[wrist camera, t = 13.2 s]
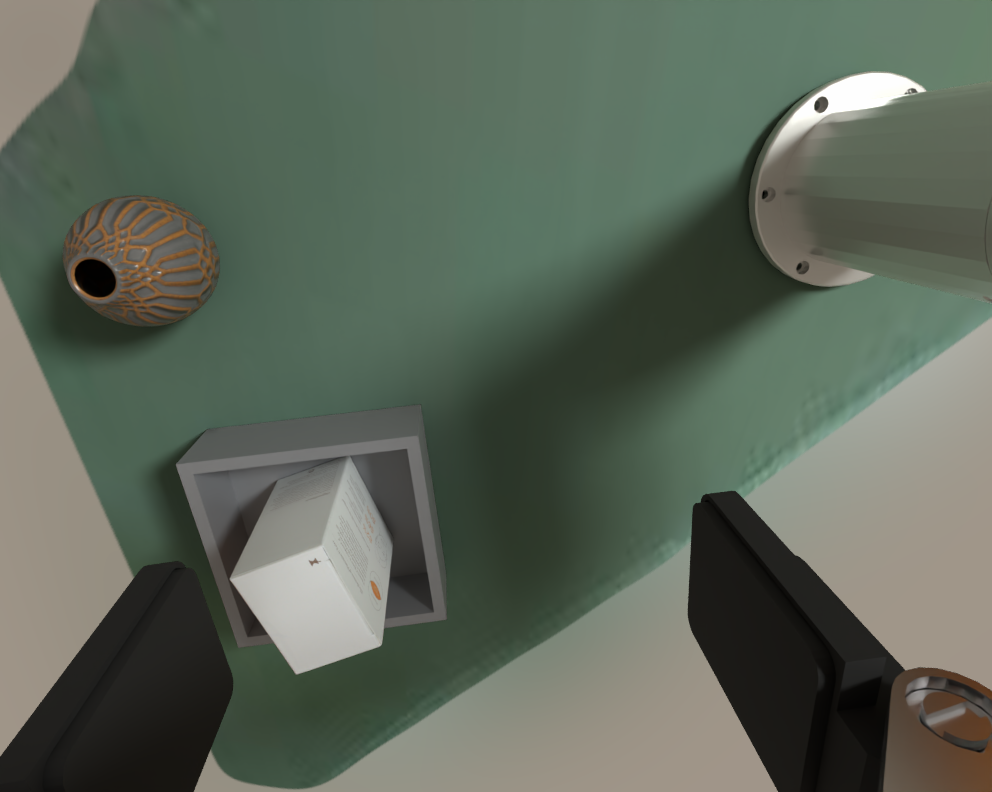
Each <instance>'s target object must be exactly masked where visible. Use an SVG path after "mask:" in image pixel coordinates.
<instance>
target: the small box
mask: <svg viewBox="0 0 992 792" xmlns="http://www.w3.org/2000/svg"><path fill="white" fill-rule="evenodd" d="M393 541H394V539H393V537H392V535H391V533H390V531H389V530H388V528H387V526H386V524H385V522H384V520H383V518H382V516H381V514H380V512H379V511H378V509H377V507H376V505H375V503H374V501H373V499H372V497H371V495H370V494H369V492H368V490H367V488H366V486H365V484H364V482H363V480H362V478H361V477H360V475H359V473H358V471H357V469H356V467H355V465H354V463H353V461H352V459H351V457H350V456H344V457H341V458H338V459H335V460H333V461H330V462H327V463H324V464H321V465H319V466H316V467H313V468H310V469H308V470H305V471H302V472H299V473H297V474H294V475H291V476H288V477H285V478H283V479H280V480H278V481H277V482H276V485H275V487H274V489H273V491H272V493H271V495H270V497H269V499H268V501H267V503H266V505H265V507H264V509H263V511H262V513H261V515H260V517H259V519H258V521H257V523H256V525H255V527H254V530H253V532H252V534H251V536H250V538H249V540H248V542H247V544H246V546H245V548H244V550H243V552H242V554H241V556H240V558H239V560H238V563H237V564H236V566H235V569H234V571H233V573H232V575H231V577H230V581H231V582H232V584H233V585H234V586H235V588H236V589H237V591H238V592H239V594H240V595H241V596H242V598H243V599H244V601H245V602H246V604H247V605H248V606H249V608H250V609H251V611H252V612H253V613H254V615H255V616H256V618H257V619H258V621H259V622H260V623H261V625H262V626H263V628H264V629H265V631H266V632H267V634H268V635H269V636H270V638H271V639H272V641H273V642H274V643H275V645H276V646H277V648H278V649H279V651H280V652H281V654H282V655H283V656H284V658H285V659H286V661H287V662H288V664H289V665H290V667H291V668H292V670H293V671H294V673H295V674H300V673H303V672H306V671H309V670H312V669H315V668H318V667H321V666H324V665H327V664H330V663H333V662H336V661H339V660H342V659H345V658H348V657H350V656H353V655H356V654H359V653H362V652H365V651H368V650H371V649H374V648H377V647H380V646H381V645H382V640H383V631H384V622H385V613H386V604H387V595H388V586H389V577H390V567H391V559H392V549H393Z"/></svg>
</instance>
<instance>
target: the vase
mask: <svg viewBox="0 0 992 792" xmlns="http://www.w3.org/2000/svg"><path fill="white" fill-rule="evenodd" d="M63 264H64V269H65V273H66V276H67V279H68V282H69V284H70V286H71V288H72V289H73V290H74V292H75V293H76V294H77V295H78V296H79V297H80V298H81V299H82V300H83V301H84V302H85V303H86V304H87V305H88V306H89V307H91V308H92V309H93V310H95V311H96V312H98V313H99V314H101V315H103V316H105V317H107V318H109V319H111V320H114V321H117V322H120V323H123V324H128V325H134V326H161V325H166V324H170V323H174V322H177V321H179V320H182V319H184V318H186V317H188V316H189V315H191V314H192V313H194V312H195V311H197V310H198V309H199V308H200V307H201V306H203V305H204V304H205V303H206V302H207V300H208V299H209V298H210V296H211V295H212V293H213V291H214V289H215V287H216V284H217V282H218V278H219V271H220V260H219V254H218V250H217V247H216V244H215V242H214V240H213V238H212V236H211V234H210V233H209V231H208V230H207V229H206V227H205V226H204V225H203V224H202V223H201V222H200V221H199V220H198V219H197V218H196V217H195V216H194V215H192V214H191V213H190V212H188V211H187V210H185V209H184V208H182V207H180V206H178V205H176V204H174V203H172V202H169V201H167V200H164V199H160V198H156V197H151V196H141V195H130V196H121V197H115V198H111V199H108V200H105V201H102V202H100V203H98V204H96V205H94V206H92V207H91V208H89V209H88V210H87V211H85V212H84V213H83V214H82V215H81V216H80V217H79V218H78V219H77V220H76V221H75V222H74V224H73V225H72V226H71V228H70V230H69V231H68V234H67V236H66V239H65V242H64V247H63Z"/></svg>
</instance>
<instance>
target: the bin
mask: <svg viewBox="0 0 992 792" xmlns="http://www.w3.org/2000/svg"><path fill="white" fill-rule="evenodd" d="M344 456H350V457H351V459H352V461H353V463H354V465H355V467H356V469H357V471H358V473H359V475H360V477H361V478H362V480H363V482H364V484H365V486H366V488H367V490H368V492H369V494H370V495H371V497H372V499H373V501H374V503H375V505H376V507H377V509H378V511H379V512H380V514H381V516H382V518H383V520H384V522H385V524H386V526H387V528H388V530H389V531H390V533H391V535H392V537H393V539H394V541H393V549H392V559H391V567H390V577H389V586H388V595H387V604H386V613H385V622H384V628H389V627H396V626H403V625H411V624H418V623H426V622H433V621H440V620H447V587H446V568H445V561H444V555H443V548H442V541H441V535H440V528H439V522H438V515H437V508H436V502H435V495H434V489H433V482H432V475H431V469H430V462H429V455H428V449H427V442H426V436H425V429H424V422H423V416H422V409H421V404H420V405H411V406H403V407H394V408H385V409H377V410H368V411H360V412H351V413H342V414H334V415H325V416H317V417H308V418H300V419H291V420H282V421H274V422H265V423H257V424H248V425H239V426H231V427H222V428H214V429H207V430H206V431H205V432H204V433H203V435H202V436H201V437H200V438H199V439H198V440H197V441H196V442H195V443H194V445H193V446H192V447H191V448H190V449H189V450H188V451H187V452H186V454H185V455H184V456H183V457H182V458H181V459H180V460H179V461H178V462H177V464H176V467H177V470H178V473H179V476H180V479H181V481H182V484H183V487H184V490H185V493H186V496H187V499H188V502H189V505H190V508H191V511H192V514H193V516H194V519H195V522H196V525H197V528H198V531H199V534H200V537H201V540H202V543H203V546H204V549H205V551H206V554H207V557H208V560H209V563H210V566H211V569H212V572H213V575H214V578H215V581H216V584H217V586H218V589H219V592H220V595H221V598H222V601H223V604H224V607H225V610H226V613H227V616H228V618H229V621H230V624H231V627H232V630H233V633H234V636H235V639H236V642H237V645H238V648H241V647H248V646H255V645H263V644H270V643H274V642H273V641H272V639H271V638H270V636H269V635H268V634H267V632H266V631H265V629H264V628H263V626H262V625H261V623H260V622H259V621H258V619H257V618H256V616H255V615H254V613H253V612H252V611H251V609H250V608H249V606H248V605H247V604H246V602H245V601H244V599H243V598H242V596H241V595H240V594H239V592H238V591H237V589H236V588H235V586H234V585H233V584H232V582H231V581H230V577H231V575H232V573H233V571H234V569H235V566H236V564H237V563H238V560H239V558H240V556H241V554H242V552H243V550H244V548H245V546H246V544H247V542H248V540H249V538H250V536H251V534H252V532H253V530H254V527H255V525H256V523H257V521H258V519H259V517H260V515H261V513H262V511H263V509H264V507H265V505H266V503H267V501H268V499H269V497H270V495H271V493H272V491H273V489H274V487H275V485H276V482H277V481H278V480H280V479H283V478H285V477H288V476H291V475H294V474H297V473H299V472H302V471H305V470H308V469H310V468H313V467H316V466H319V465H321V464H324V463H327V462H330V461H333V460H335V459H338V458H341V457H344Z"/></svg>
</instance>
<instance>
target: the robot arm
mask: <svg viewBox="0 0 992 792" xmlns="http://www.w3.org/2000/svg"><path fill="white" fill-rule="evenodd" d="M814 104H815V109H814ZM763 191H764V193H765V194H764V196H763V197H762V193H763ZM749 215H750V222H751V226H752V230H753V234H754V238H755V240H756V242H757V244H758V246H759V248H760V250H761V252H762V253H763V254H764V256H765V257H766V258H767V259H768V261H769V262H770V263H771V264H772V265H773V266H774V267H775V268H777V269H778V270H779V271H781V272H782V273H783V274H785V275H787V276H789V277H791V278H793V279H796V280H798V281H801V282H804V283H808V284H811V285H816V286H827V287H834V286H843V285H849V284H853V283H856V282H859V281H863V280H866V279H868V278H870V277H872V276H874V275H879V276H883V277H887V278H891V279H895V280H899V281H903V282H907V283H911V284H915V285H919V286H923V287H928V288H932V289H936V290H940V291H944V292H948V293H952V294H956V295H960V296H964V297H968V298H972V299H976V300H980V301H984V302H988V303H992V81H989V82H983V83H977V84H970V85H964V86H958V87H951V88H945V89H938V90H932V91H927V90H926V89H925V88H924V87H923V86H922V85H920V84H918V83H916V82H915V81H913V80H911V79H909V78H908V77H906V76H902V75H898V74H895V73H891V72H876V71H868V72H863V73H857V74H852V75H848V76H845V77H842V78H838V79H835V80H832V81H829V82H828V83H826V84H824V85H822V86H820V87H818V88H816V89H814V90H813V91H811V92H810V93H808V94H807V95H806V96H805V97H803V98H802V99H801V100H799V101H798V102H797V103H796V104H794V105H793V106H792V107H791V109H790V110H789V111H788V112H787V113H786V114H785V115H784V116H783V117H782V118H781V119H780V120H779V122H778V123H777V125H776V126H775V128H774V129H773V131H772V132H771V133H770V135H769V136H768V138H767V139H766V141H765V144H764V146H763V148H762V150H761V152H760V154H759V156H758V158H757V161H756V165H755V168H754V172H753V175H752V178H751V184H750V193H749ZM797 265H798V266H797ZM688 598H689V599H688V619H689V624H690V627H691V630H692V633H693V635H694V637H695V638H696V640H697V642H698V644H699V646H700V648H701V650H702V651H703V653H704V655H705V657H706V659H707V660H708V663H709V664H710V666H711V668H712V670H713V671H714V674H715V675H716V677H717V679H718V681H719V683H720V685H721V687H722V688H723V690H724V692H725V694H726V696H727V698H728V699H729V701H730V703H731V705H732V707H733V709H734V711H735V713H736V714H737V716H738V718H739V720H740V722H741V724H742V726H743V727H744V729H745V731H746V733H747V735H748V737H749V738H750V740H751V742H752V744H753V746H754V748H755V749H756V752H757V753H758V755H759V757H760V759H761V761H762V763H763V765H764V766H765V768H766V770H767V772H768V774H769V776H770V777H771V779H772V781H773V783H774V785H775V787H776V788H777V790H778V792H992V691H991V690H990V689H988V688H987V687H985V686H983V685H982V684H980V683H978V682H976V681H974V680H972V679H970V678H967V677H965V676H963V675H960V674H958V673H954V672H951V671H946V670H943V669H938V668H925V667H924V668H923V667H918V668H914V669H909V670H904V669H903V667H902V666H901V665H900V664H899V663H898V662H897V661H896V660H895V659H894V658H893V656H892V655H891V654H890V653H889V652H888V651H887V650H886V649H885V648H884V647H883V646H882V644H881V643H880V642H879V641H878V640H877V639H876V638H875V637H874V636H873V635H872V634H871V633H870V632H869V631H868V629H867V628H866V627H865V626H864V625H863V624H862V623H861V622H860V621H859V620H858V619H857V617H855V615H854V614H853V613H852V612H851V611H850V610H849V609H848V608H847V607H846V606H845V604H844V603H843V602H842V601H841V600H840V599H839V598H838V597H837V596H836V595H835V594H834V593H833V592H832V590H831V589H830V588H829V587H828V586H827V585H826V584H825V583H824V582H823V581H822V580H821V578H820V577H819V576H818V575H817V574H816V573H815V572H814V571H813V570H812V569H811V568H810V567H809V565H808V564H807V563H806V562H805V561H803V560H802V559H801V558H800V557H798V556H795V555H794V554H793V553H792V552H791V551H790V550H789V549H788V548H787V546H786V545H785V544H784V543H783V542H782V541H781V540H780V539H779V538H778V537H777V535H776V534H775V533H774V532H773V531H772V530H771V529H770V528H769V527H768V526H767V525H766V523H765V522H764V521H763V520H762V519H761V518H760V517H759V516H758V515H757V514H756V512H755V511H753V509H752V508H751V507H750V506H749V505H748V504H747V502H746V501H745V500H744V499H743V498H742V497H741V496H740V495H739V494H738V493H737V492H736V491H727V492H719V493H711V494H705V495H703V497H702V499H701V503H696V504H694V506H693V514H692V535H691V555H690V577H689V596H688ZM232 691H233V677H232V673H231V670H230V668H229V665H228V662H227V659H226V656H225V654H224V651H223V648H222V645H221V642H220V640H219V637H218V634H217V631H216V628H215V626H214V623H213V620H212V617H211V614H210V612H209V609H208V606H207V603H206V600H205V598H204V595H203V592H202V589H201V586H200V584H199V581H198V578H197V575H196V573H195V571H194V570H193V569H191V568H186V567H185V565H184V564H183V563H182V562H178V561H177V562H169V563H161V564H153V565H147V566H144V567H143V568H142V569H141V570H140V571H139V572H138V574H137V575H136V576H135V578H134V579H133V580H132V582H131V583H130V584H129V586H128V587H127V588H126V590H125V591H124V592H123V594H122V595H121V596H120V598H119V599H118V600H117V602H116V603H115V604H114V606H113V607H112V608H111V610H110V611H109V612H108V614H107V615H106V616H105V618H104V619H103V620H102V622H101V623H100V624H99V626H98V627H97V628H96V630H95V631H94V632H93V634H92V635H91V636H90V638H89V639H88V640H87V642H86V643H85V644H84V646H83V647H82V648H81V650H80V651H79V652H78V654H77V655H76V656H75V658H74V659H73V660H72V662H71V663H70V664H69V666H68V667H67V668H66V670H65V671H64V672H63V674H62V675H61V676H60V678H59V679H58V680H57V682H56V683H55V684H54V686H53V687H52V688H51V690H50V691H49V692H48V694H47V695H46V696H45V698H44V699H43V700H42V702H41V703H40V704H39V706H38V707H37V708H36V710H35V711H34V713H33V714H32V715H31V716H30V718H29V719H28V721H27V722H26V723H25V724H24V726H23V727H22V728H21V730H20V731H19V732H18V734H17V735H16V737H15V738H14V739H13V740H12V742H11V743H10V744H9V746H8V747H7V749H6V750H5V751H4V752H3V754H2V755H1V756H0V792H194V790H195V787H196V784H197V782H198V779H199V777H200V774H201V772H202V769H203V767H204V764H205V762H206V759H207V757H208V754H209V752H210V749H211V747H212V744H213V742H214V739H215V737H216V734H217V732H218V729H219V727H220V724H221V722H222V719H223V717H224V714H225V712H226V709H227V706H228V704H229V701H230V699H231V696H232Z"/></svg>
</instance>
